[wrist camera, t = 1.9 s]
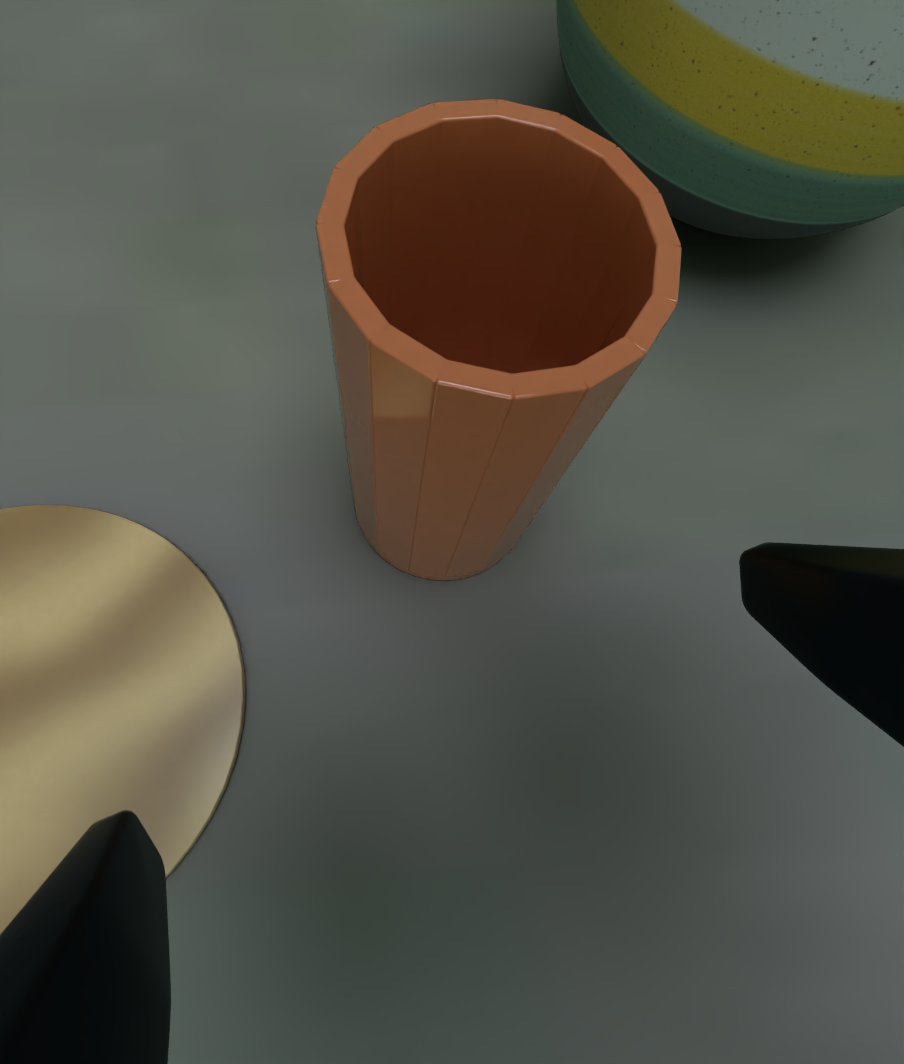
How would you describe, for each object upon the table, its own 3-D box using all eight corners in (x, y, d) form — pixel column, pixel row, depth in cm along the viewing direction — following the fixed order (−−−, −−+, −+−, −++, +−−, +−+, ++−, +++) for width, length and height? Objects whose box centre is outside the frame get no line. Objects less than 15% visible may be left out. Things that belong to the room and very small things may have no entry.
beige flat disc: (331, 652, 21) (330, 650, 21) (23, 1085, 17) (15, 1093, 16) (14, 437, 22) (8, 432, 22) (-350, 789, 18) (-366, 790, 18)
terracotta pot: (558, 476, 24) (737, 210, 12) (468, 615, 22) (573, 468, 10) (417, 388, 25) (450, 49, 12) (317, 516, 23) (239, 260, 10)
